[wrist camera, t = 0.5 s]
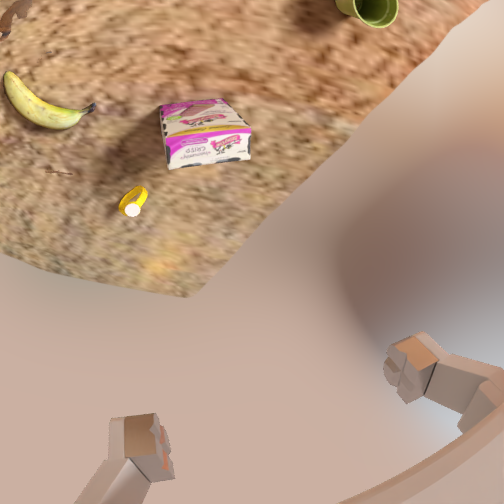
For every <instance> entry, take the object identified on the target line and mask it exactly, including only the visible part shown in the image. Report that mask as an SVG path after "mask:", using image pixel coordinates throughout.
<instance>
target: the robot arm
mask: <svg viewBox="0 0 504 504" xmlns="http://www.w3.org/2000/svg"><path fill="white" fill-rule="evenodd" d="M386 353H387V355H388V356H389V357H388V358H387V359H386V361H385V362H384V367H383V370H384V375H385V377H386V379H387V381H388V382H389V383H390V385H393V386H396V387H397V393H398V395H399V396H400V397H401V398H402V400H403V401H404V402H405V403H406V404H408V403H410V402H412V401H414V400H416V399H418V398H420V397H422V396H424V397H426V398H428V399H430V400H433V401H435V402H437V403H439V404H441V405H443V406H445V407H448V408H450V409H452V410H454V411H456V412H459V413H461V414H463V415H462V417H461V419H460V421H459V422H458V425H457V427H458V428H459V429H460V431H461V432H462V433H463V435H461V436H460V437H458V438H457V439H455V440H454V441H453V442H451V443H450V444H448V445H447V446H445V447H444V448H442V449H441V450H439V451H438V452H436V453H434V454H433V455H432V456H430V457H428V458H426V459H425V460H423V461H422V462H420V463H418V464H417V465H415V466H413V467H411V468H409V469H408V470H406V471H404V472H402V473H401V474H399V475H397V476H395V477H393V478H391V479H389V480H387V481H385V482H383V483H381V484H379V485H377V486H375V487H373V488H371V489H369V490H367V491H365V492H362V493H360V494H358V495H356V496H353V497H351V498H349V499H347V500H344V501H342V502H339V503H337V504H504V370H503V369H502V368H500V367H497V366H493V365H489V364H486V363H483V362H479V361H475V360H472V359H468V358H465V357H462V356H458V355H455V354H451V355H449V354H448V353H447V352H446V351H445V350H444V349H442V347H440V346H439V345H438V344H437V343H436V342H435V341H434V340H433V339H432V338H431V337H430V336H429V335H428V334H426V333H425V332H423V331H421V332H419V333H416V334H414V335H412V336H409V337H407V338H405V339H403V340H400V341H398V342H396V343H393V344H391V345H390V346H389V347H388V348H387V352H386ZM170 452H171V448H170V443H169V439H168V435H167V433H166V430H165V429H164V427H163V426H161V425H160V422H159V418H158V416H157V414H156V413H152V414H144V415H136V416H127V417H118V418H111V420H110V423H109V454H108V456H109V457H108V460H104V461H103V463H102V465H101V466H100V467H99V469H98V470H97V472H96V473H95V474H94V476H93V477H92V478H91V480H90V481H89V483H88V484H87V486H86V487H85V488H84V490H83V491H82V493H81V495H80V496H79V497H78V499H77V500H76V501H75V503H74V504H142V502H143V500H144V498H145V496H146V494H147V492H148V489H149V487H150V485H151V483H152V482H158V481H165V480H172V479H175V476H174V469H173V463H172V461H171V459H170V458H169V456H168V455H169V454H170Z"/></svg>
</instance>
